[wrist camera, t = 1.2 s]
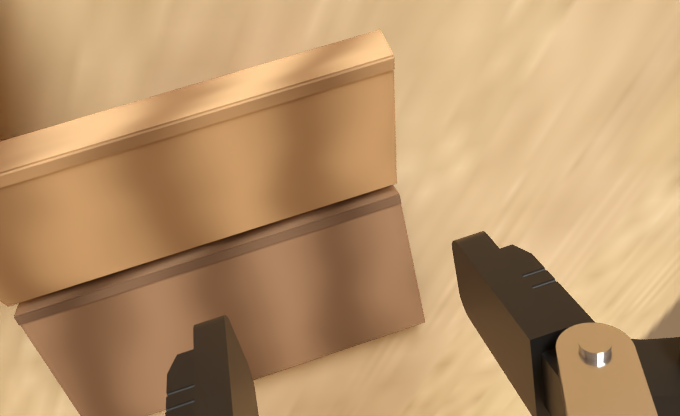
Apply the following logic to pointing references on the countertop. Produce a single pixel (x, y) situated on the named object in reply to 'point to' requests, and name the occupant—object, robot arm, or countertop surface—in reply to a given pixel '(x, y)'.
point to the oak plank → (195, 165)
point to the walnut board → (232, 303)
